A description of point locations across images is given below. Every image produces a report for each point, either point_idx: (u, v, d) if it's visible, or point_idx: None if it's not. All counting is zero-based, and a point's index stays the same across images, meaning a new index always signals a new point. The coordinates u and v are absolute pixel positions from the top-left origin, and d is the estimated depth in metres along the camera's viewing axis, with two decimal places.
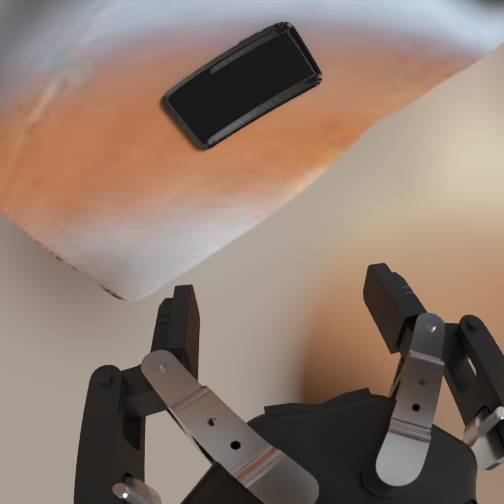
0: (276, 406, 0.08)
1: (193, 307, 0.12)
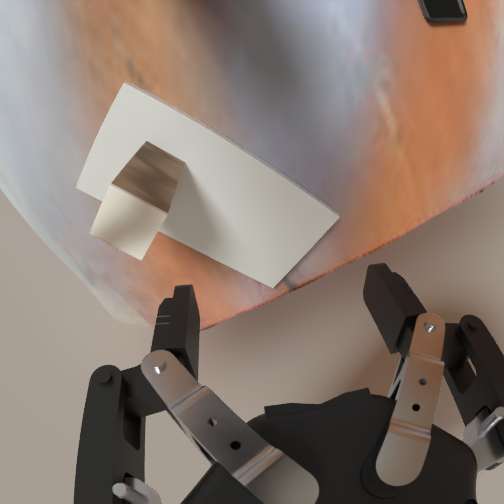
0: (276, 406, 0.08)
1: (193, 307, 0.12)
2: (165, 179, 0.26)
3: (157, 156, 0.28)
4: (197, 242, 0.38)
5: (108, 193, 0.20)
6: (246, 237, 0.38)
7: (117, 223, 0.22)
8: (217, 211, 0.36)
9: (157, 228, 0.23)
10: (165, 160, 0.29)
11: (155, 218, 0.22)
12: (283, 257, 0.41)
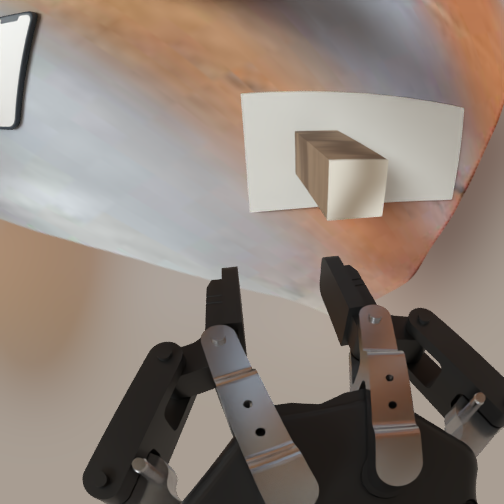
0: (276, 406, 0.08)
1: (239, 288, 0.13)
2: (348, 143, 0.26)
3: (319, 135, 0.29)
4: None
5: (332, 169, 0.22)
6: (414, 166, 0.34)
7: (350, 193, 0.23)
8: None
9: (385, 177, 0.22)
10: (327, 134, 0.29)
11: (380, 168, 0.22)
12: (447, 166, 0.35)
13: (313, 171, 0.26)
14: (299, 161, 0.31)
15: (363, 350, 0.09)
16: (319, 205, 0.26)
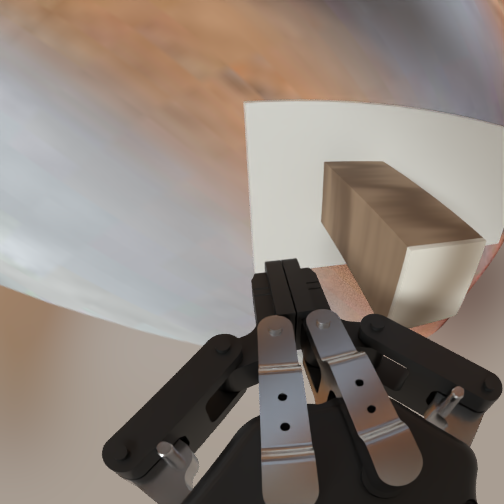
0: None
1: None
2: (414, 194, 0.16)
3: (363, 172, 0.19)
4: None
5: (410, 264, 0.12)
6: (468, 207, 0.24)
7: (427, 294, 0.13)
8: (435, 197, 0.24)
9: (476, 265, 0.12)
10: (374, 171, 0.19)
11: (474, 254, 0.12)
12: (500, 206, 0.25)
13: (362, 242, 0.16)
14: (331, 209, 0.21)
15: (322, 360, 0.09)
16: (369, 299, 0.16)
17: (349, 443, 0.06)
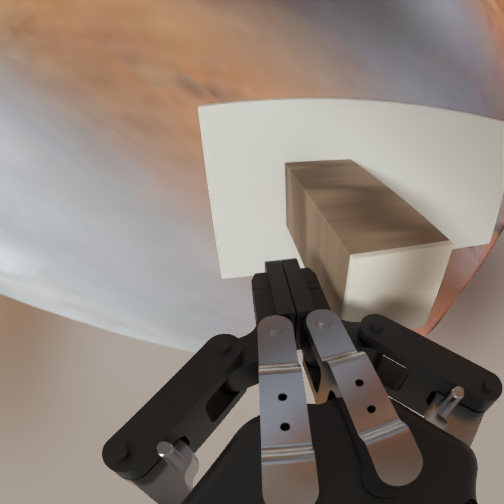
0: None
1: None
2: (375, 193, 0.15)
3: (324, 172, 0.18)
4: None
5: (355, 274, 0.11)
6: (452, 205, 0.24)
7: (382, 305, 0.12)
8: (414, 196, 0.23)
9: (443, 271, 0.12)
10: (337, 170, 0.19)
11: (438, 260, 0.11)
12: (489, 203, 0.24)
13: (316, 247, 0.16)
14: (292, 213, 0.20)
15: (322, 360, 0.09)
16: None
17: (349, 443, 0.06)
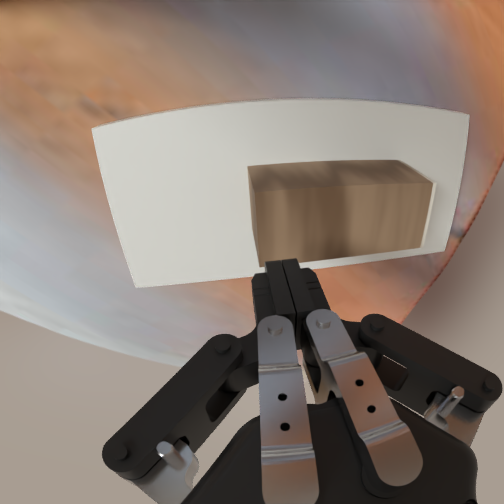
0: None
1: None
2: (342, 165, 0.20)
3: (294, 176, 0.18)
4: None
5: None
6: None
7: None
8: None
9: None
10: (287, 172, 0.19)
11: None
12: (439, 206, 0.24)
13: (376, 218, 0.18)
14: (292, 235, 0.18)
15: (322, 360, 0.09)
16: (397, 247, 0.19)
17: (349, 443, 0.06)
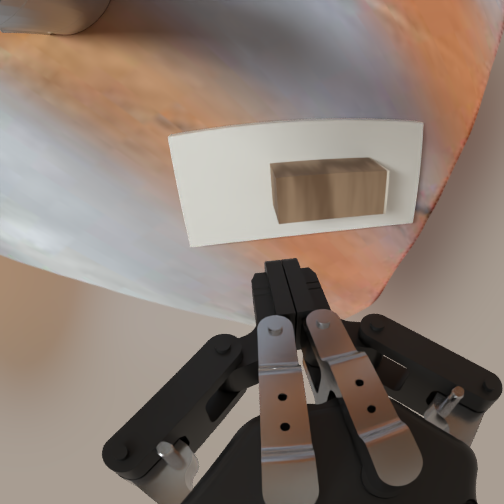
0: None
1: None
2: (329, 162, 0.31)
3: (299, 169, 0.30)
4: (326, 223, 0.37)
5: None
6: None
7: None
8: None
9: None
10: (294, 166, 0.31)
11: None
12: (404, 189, 0.35)
13: (350, 193, 0.30)
14: (298, 203, 0.30)
15: (322, 360, 0.09)
16: (366, 213, 0.31)
17: (349, 443, 0.06)
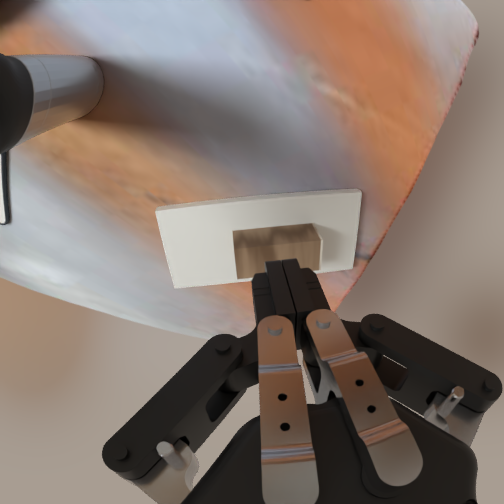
0: None
1: None
2: (278, 230, 0.43)
3: (252, 239, 0.42)
4: None
5: None
6: None
7: None
8: None
9: None
10: (250, 235, 0.43)
11: None
12: (343, 244, 0.47)
13: (290, 257, 0.41)
14: (251, 265, 0.42)
15: (322, 360, 0.09)
16: None
17: (349, 443, 0.06)
